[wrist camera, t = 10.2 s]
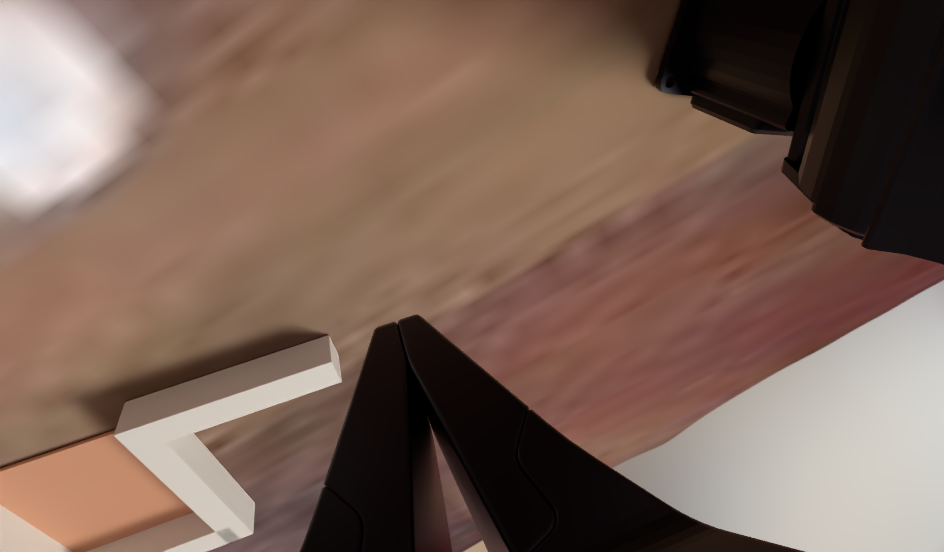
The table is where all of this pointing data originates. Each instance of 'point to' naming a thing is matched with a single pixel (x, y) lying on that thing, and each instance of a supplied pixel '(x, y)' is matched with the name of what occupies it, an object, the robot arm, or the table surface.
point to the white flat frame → (155, 466)
